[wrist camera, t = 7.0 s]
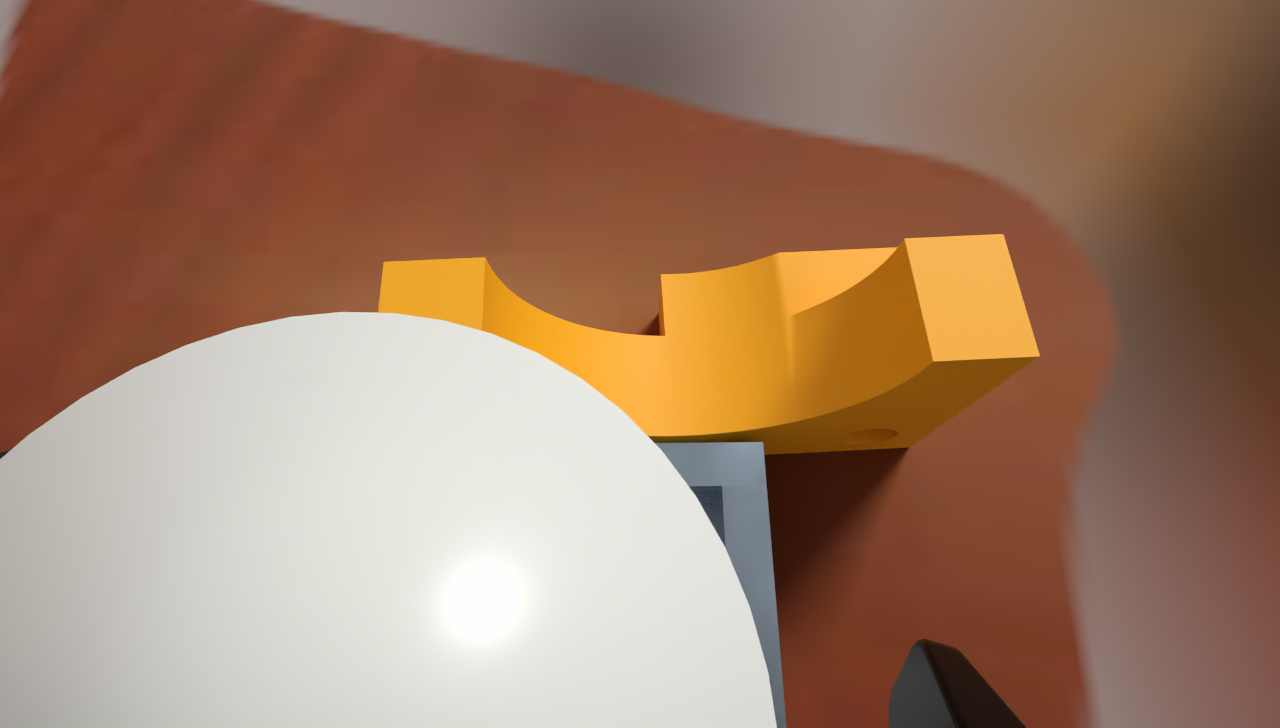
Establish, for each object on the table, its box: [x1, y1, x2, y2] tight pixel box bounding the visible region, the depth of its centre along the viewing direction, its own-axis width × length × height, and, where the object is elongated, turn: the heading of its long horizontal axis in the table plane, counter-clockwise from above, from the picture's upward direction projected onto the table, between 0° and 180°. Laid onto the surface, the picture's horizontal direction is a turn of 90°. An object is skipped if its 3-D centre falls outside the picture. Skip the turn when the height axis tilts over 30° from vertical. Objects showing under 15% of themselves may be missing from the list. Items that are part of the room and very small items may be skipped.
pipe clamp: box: [378, 234, 1040, 455], centre depth 16 cm, size 12×4×6 cm, turn 93°
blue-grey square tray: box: [655, 442, 786, 728], centre depth 15 cm, size 9×9×2 cm
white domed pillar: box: [0, 312, 777, 728], centre depth 9 cm, size 5×5×13 cm
